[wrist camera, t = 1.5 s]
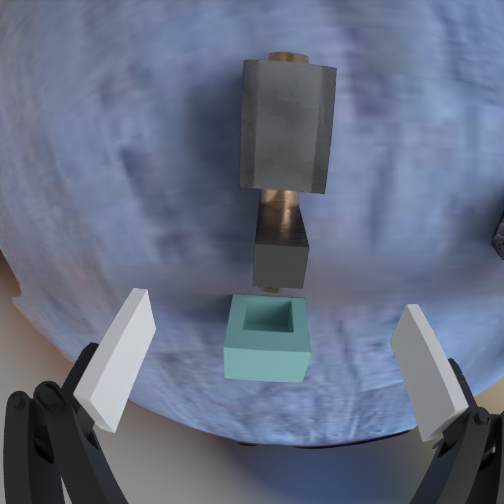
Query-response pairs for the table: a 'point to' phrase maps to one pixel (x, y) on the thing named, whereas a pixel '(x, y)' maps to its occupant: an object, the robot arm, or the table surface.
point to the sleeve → (286, 125)
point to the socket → (267, 339)
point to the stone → (499, 239)
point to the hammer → (280, 229)
